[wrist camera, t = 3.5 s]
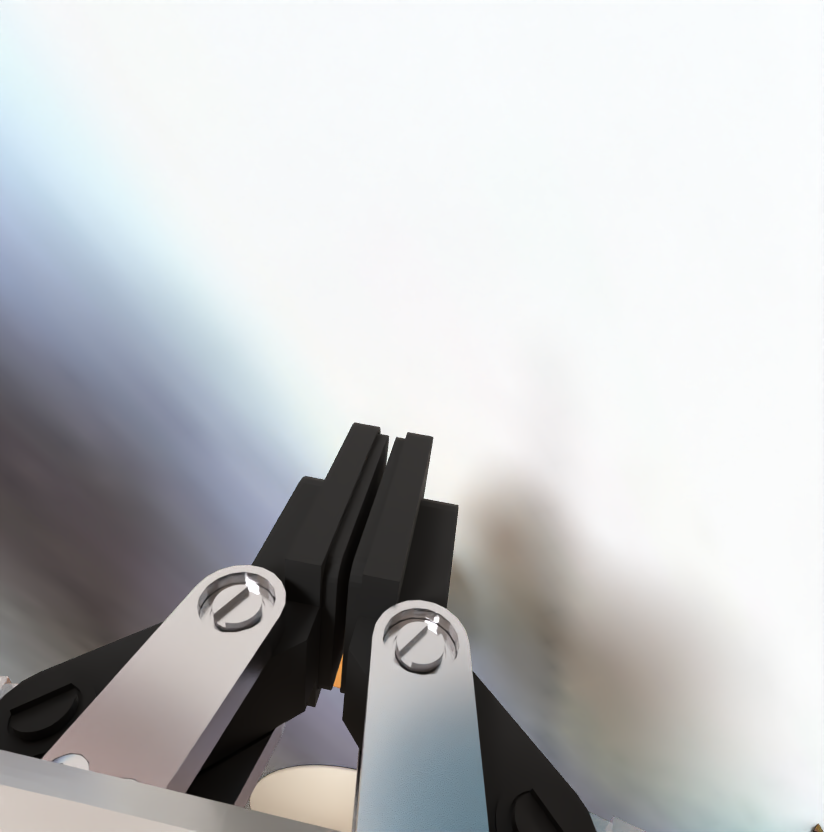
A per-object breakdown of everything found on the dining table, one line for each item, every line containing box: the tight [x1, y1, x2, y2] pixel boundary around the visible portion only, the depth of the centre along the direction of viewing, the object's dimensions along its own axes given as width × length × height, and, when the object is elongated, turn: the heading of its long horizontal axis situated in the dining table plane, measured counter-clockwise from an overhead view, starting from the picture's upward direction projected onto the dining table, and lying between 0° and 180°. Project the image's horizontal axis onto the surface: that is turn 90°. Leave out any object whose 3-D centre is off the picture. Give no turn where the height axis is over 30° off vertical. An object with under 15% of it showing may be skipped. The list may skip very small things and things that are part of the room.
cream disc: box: [250, 765, 357, 832], centre depth 35 cm, size 13×13×1 cm
